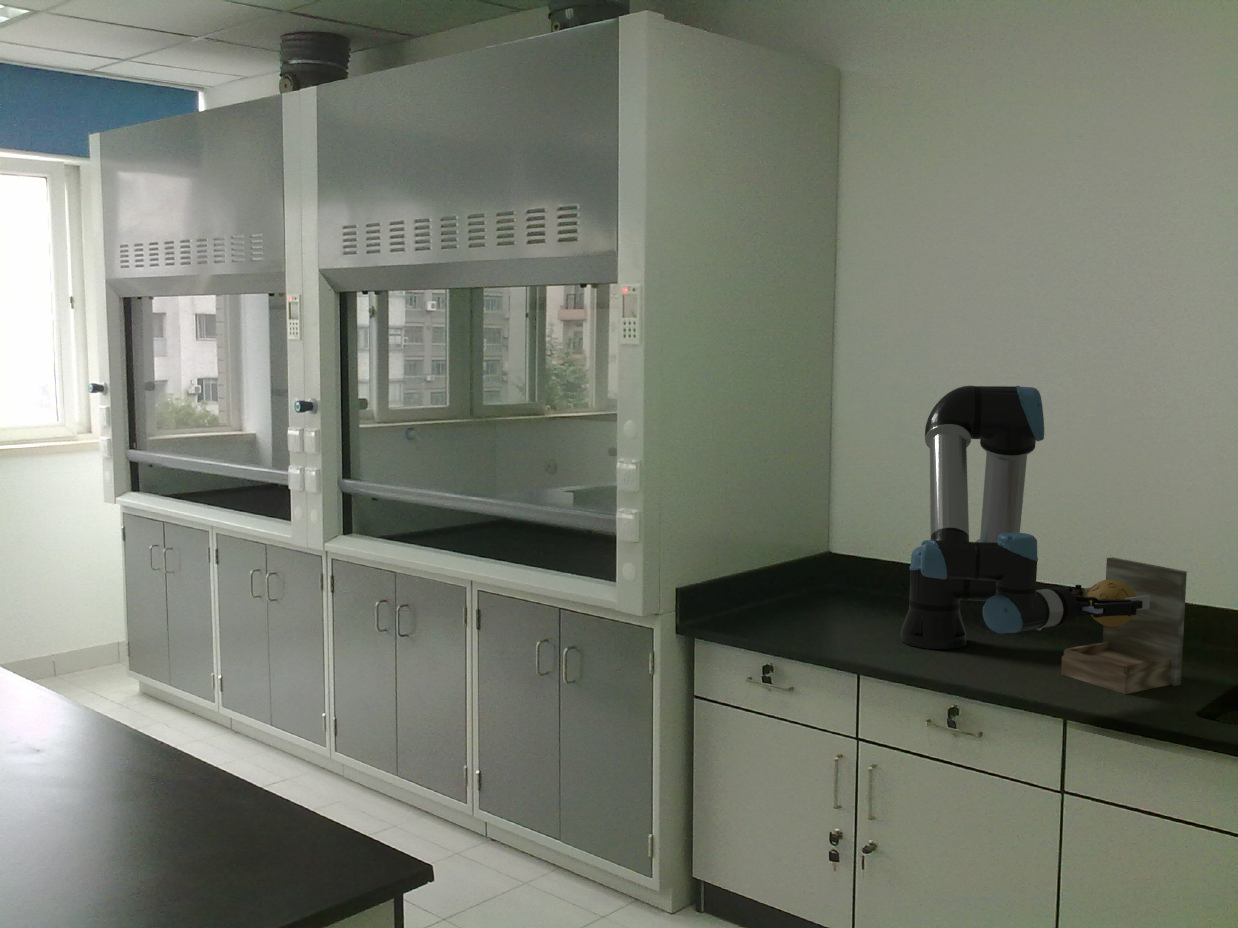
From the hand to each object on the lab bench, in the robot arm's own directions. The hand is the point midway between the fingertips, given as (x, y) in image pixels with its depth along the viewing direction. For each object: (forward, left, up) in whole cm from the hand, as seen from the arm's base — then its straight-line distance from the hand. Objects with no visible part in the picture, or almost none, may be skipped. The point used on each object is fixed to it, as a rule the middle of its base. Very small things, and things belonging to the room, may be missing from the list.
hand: (1126, 596), depth 244 cm
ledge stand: (0, -2, -18) cm, 18 cm away
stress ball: (+2, -4, -6) cm, 8 cm away
